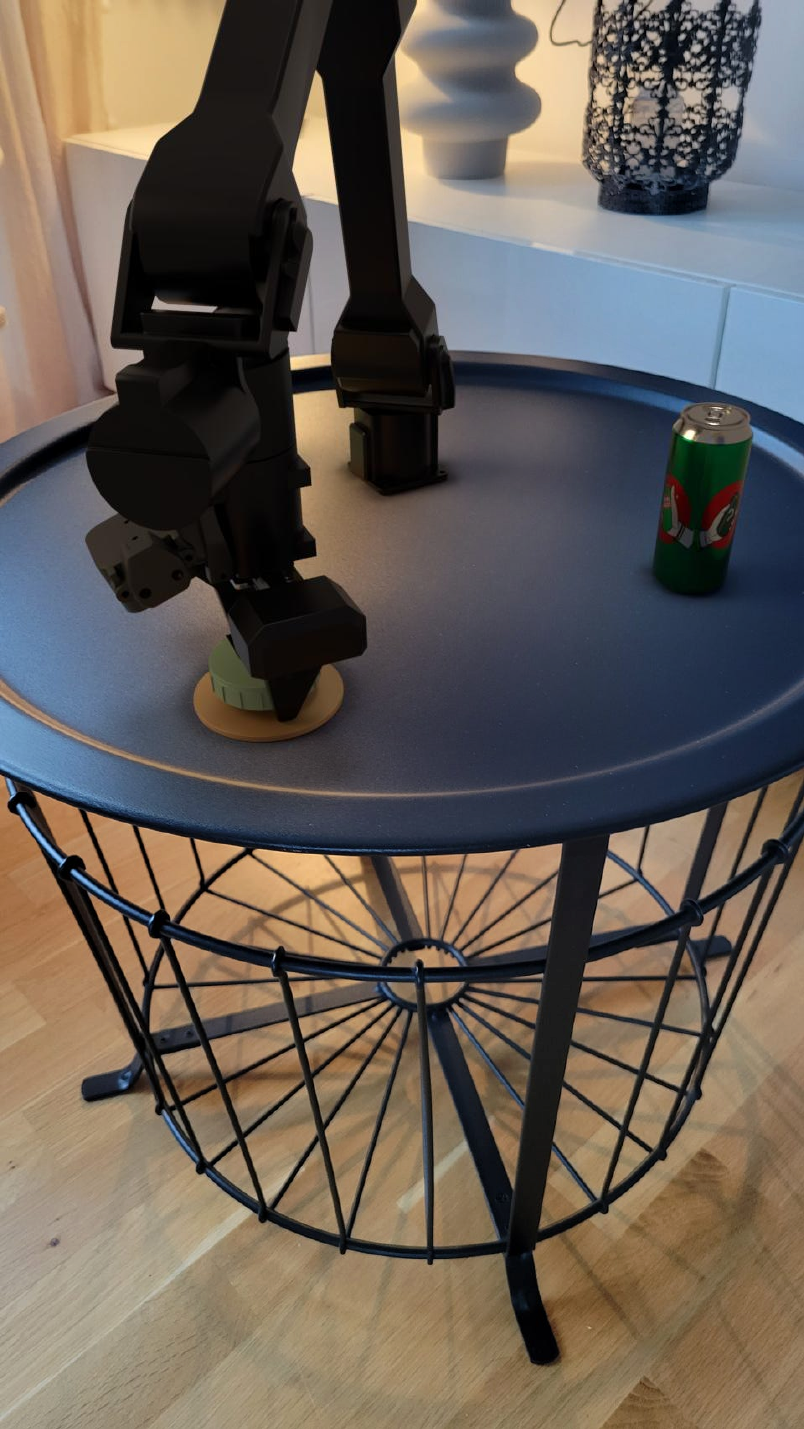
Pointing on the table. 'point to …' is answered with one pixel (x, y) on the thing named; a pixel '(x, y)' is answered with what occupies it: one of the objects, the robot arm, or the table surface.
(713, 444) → the soda can
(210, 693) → the coaster
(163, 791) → the table surface
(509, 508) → the table surface
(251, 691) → the lid
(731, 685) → the table surface
